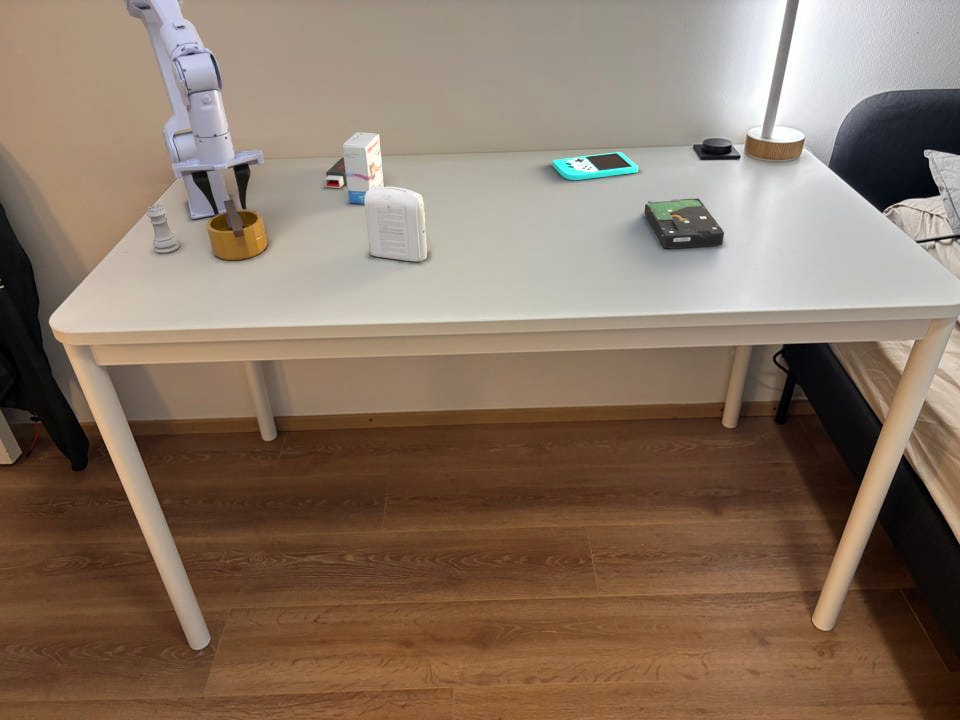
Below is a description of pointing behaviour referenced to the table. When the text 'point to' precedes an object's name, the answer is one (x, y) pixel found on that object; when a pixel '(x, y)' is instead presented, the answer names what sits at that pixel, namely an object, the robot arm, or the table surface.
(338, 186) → the usb drive
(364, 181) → the ink box
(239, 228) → the tall wooden post
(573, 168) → the handheld game console
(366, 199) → the photo printer
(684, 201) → the disk drive
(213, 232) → the bowl
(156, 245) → the rook chess piece
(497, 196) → the table surface
